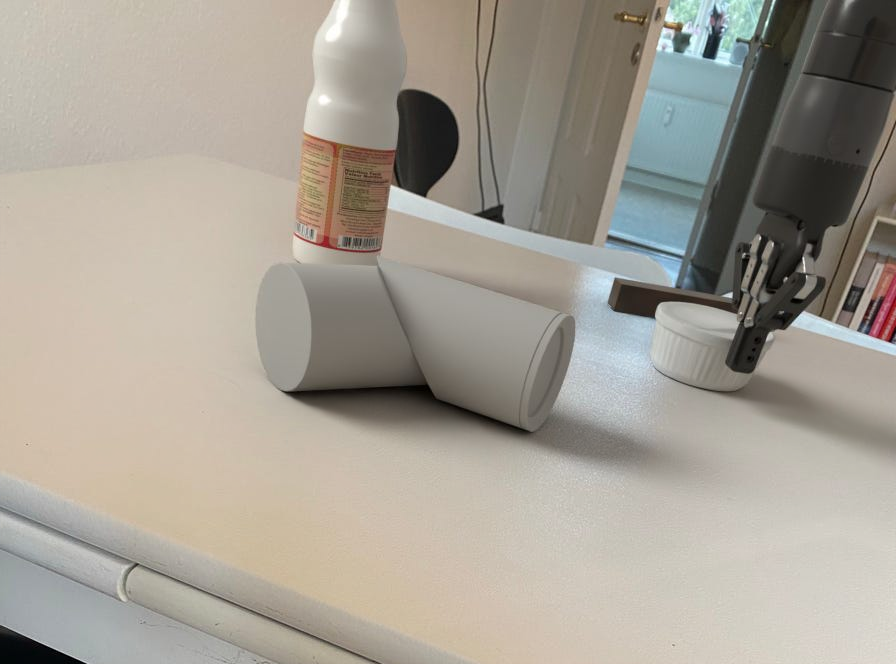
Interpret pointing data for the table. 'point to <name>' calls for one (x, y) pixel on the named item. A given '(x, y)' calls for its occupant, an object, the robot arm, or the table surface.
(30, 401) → the table surface
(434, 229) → the table surface
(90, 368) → the table surface
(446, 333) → the elbow connector
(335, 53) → the fruit juice
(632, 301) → the stop bar
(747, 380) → the ramekin
